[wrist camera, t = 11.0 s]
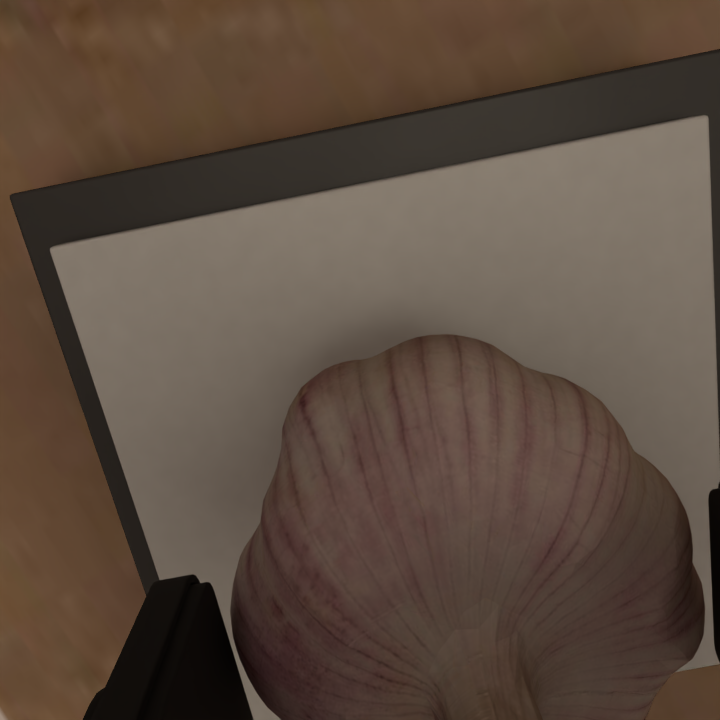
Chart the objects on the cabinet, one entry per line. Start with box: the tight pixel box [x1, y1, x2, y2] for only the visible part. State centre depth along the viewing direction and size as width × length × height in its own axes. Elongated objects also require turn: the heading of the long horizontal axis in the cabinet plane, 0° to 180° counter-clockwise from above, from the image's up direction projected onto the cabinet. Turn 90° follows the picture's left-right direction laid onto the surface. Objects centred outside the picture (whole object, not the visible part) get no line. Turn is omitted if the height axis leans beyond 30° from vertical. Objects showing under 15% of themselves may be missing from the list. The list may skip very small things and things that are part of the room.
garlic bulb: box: [230, 334, 705, 720], centre depth 8 cm, size 8×7×8 cm
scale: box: [10, 49, 720, 720], centre depth 15 cm, size 14×14×3 cm
